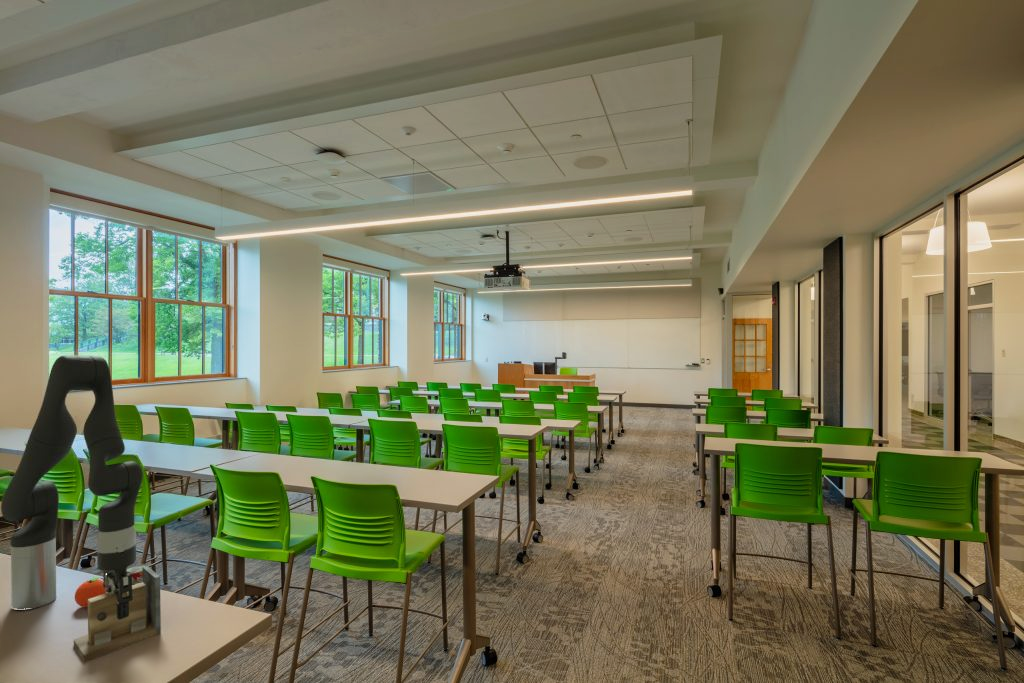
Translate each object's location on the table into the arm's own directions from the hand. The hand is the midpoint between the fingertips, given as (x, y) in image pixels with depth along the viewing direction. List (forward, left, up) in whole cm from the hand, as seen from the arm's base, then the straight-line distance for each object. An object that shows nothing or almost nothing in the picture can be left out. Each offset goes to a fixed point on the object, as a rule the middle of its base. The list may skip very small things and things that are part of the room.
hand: (117, 612), depth 127 cm
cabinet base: (0, 0, -7) cm, 7 cm away
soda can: (-11, +6, -7) cm, 14 cm away
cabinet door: (0, 0, -5) cm, 5 cm away
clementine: (-26, 0, -7) cm, 27 cm away
